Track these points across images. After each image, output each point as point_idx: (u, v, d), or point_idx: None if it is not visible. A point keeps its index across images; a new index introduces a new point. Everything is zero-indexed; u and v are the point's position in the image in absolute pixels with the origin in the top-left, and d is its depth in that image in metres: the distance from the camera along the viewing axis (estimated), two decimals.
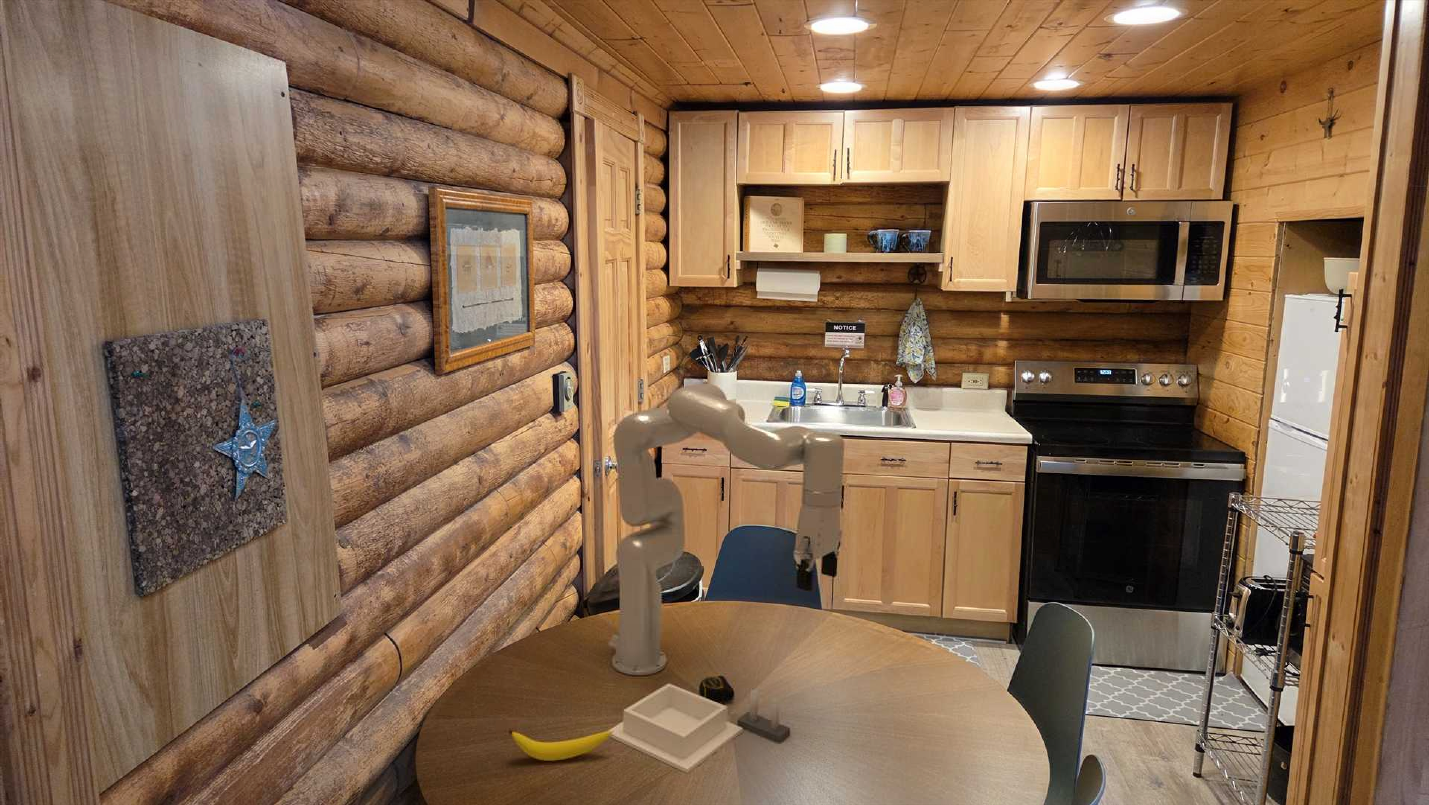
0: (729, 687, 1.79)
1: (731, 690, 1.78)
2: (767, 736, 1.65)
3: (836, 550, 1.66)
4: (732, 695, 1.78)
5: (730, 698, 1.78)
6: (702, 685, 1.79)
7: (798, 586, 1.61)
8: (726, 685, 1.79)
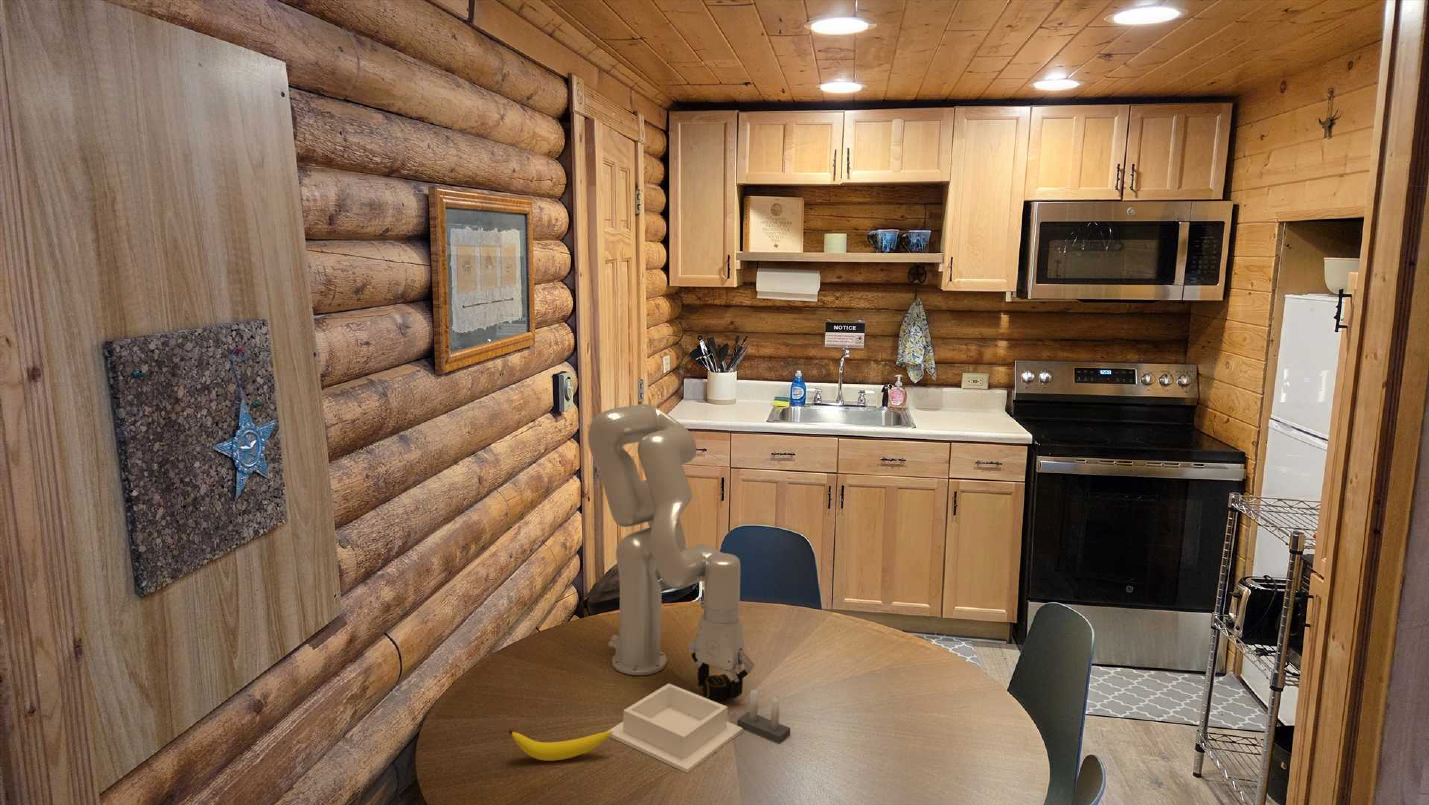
0: None
1: None
2: (767, 736, 1.65)
3: None
4: None
5: None
6: (705, 683, 1.79)
7: (734, 697, 1.77)
8: (729, 683, 1.80)
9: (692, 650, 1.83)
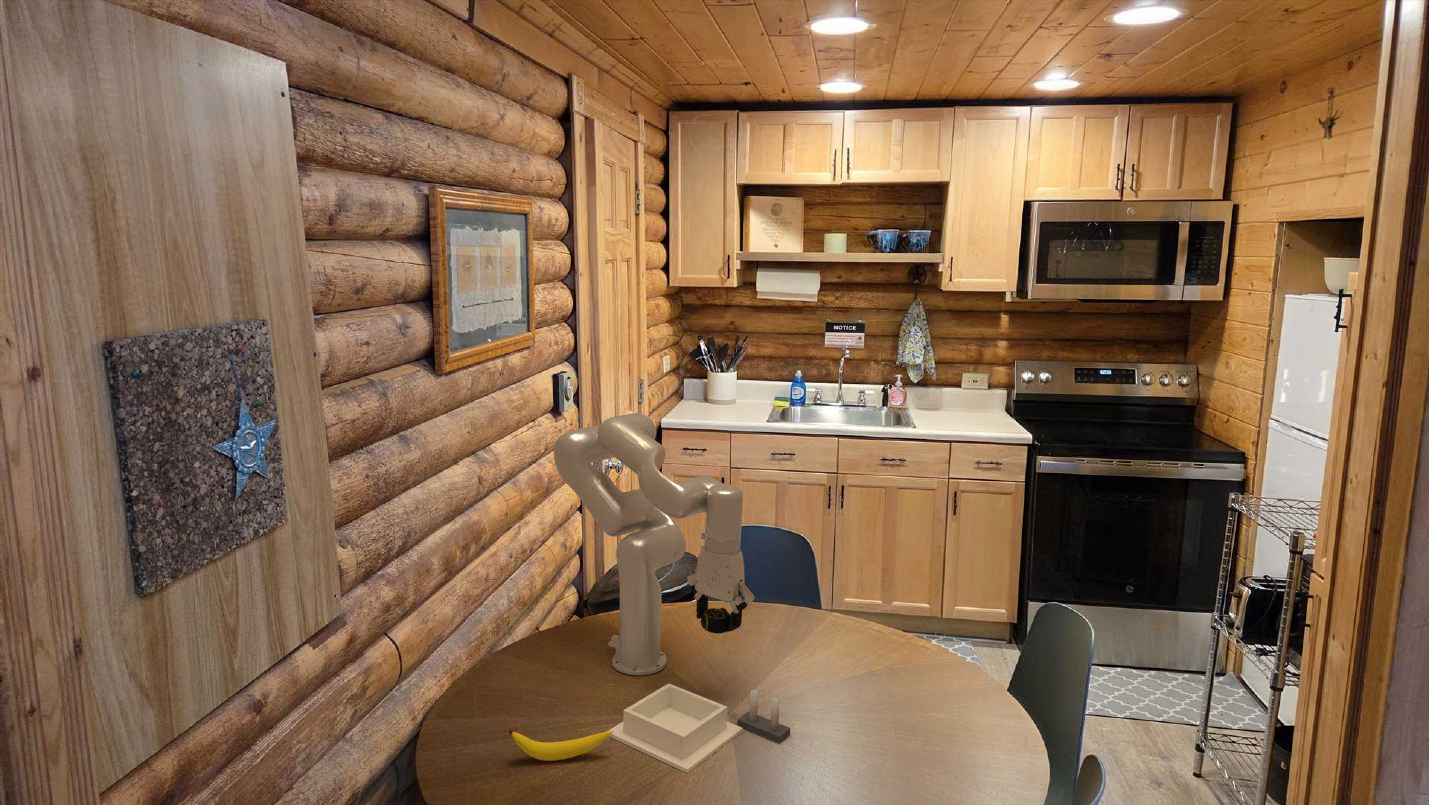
0: None
1: None
2: (767, 736, 1.65)
3: None
4: None
5: None
6: (704, 615, 1.77)
7: (733, 629, 1.75)
8: (728, 616, 1.78)
9: (691, 582, 1.81)
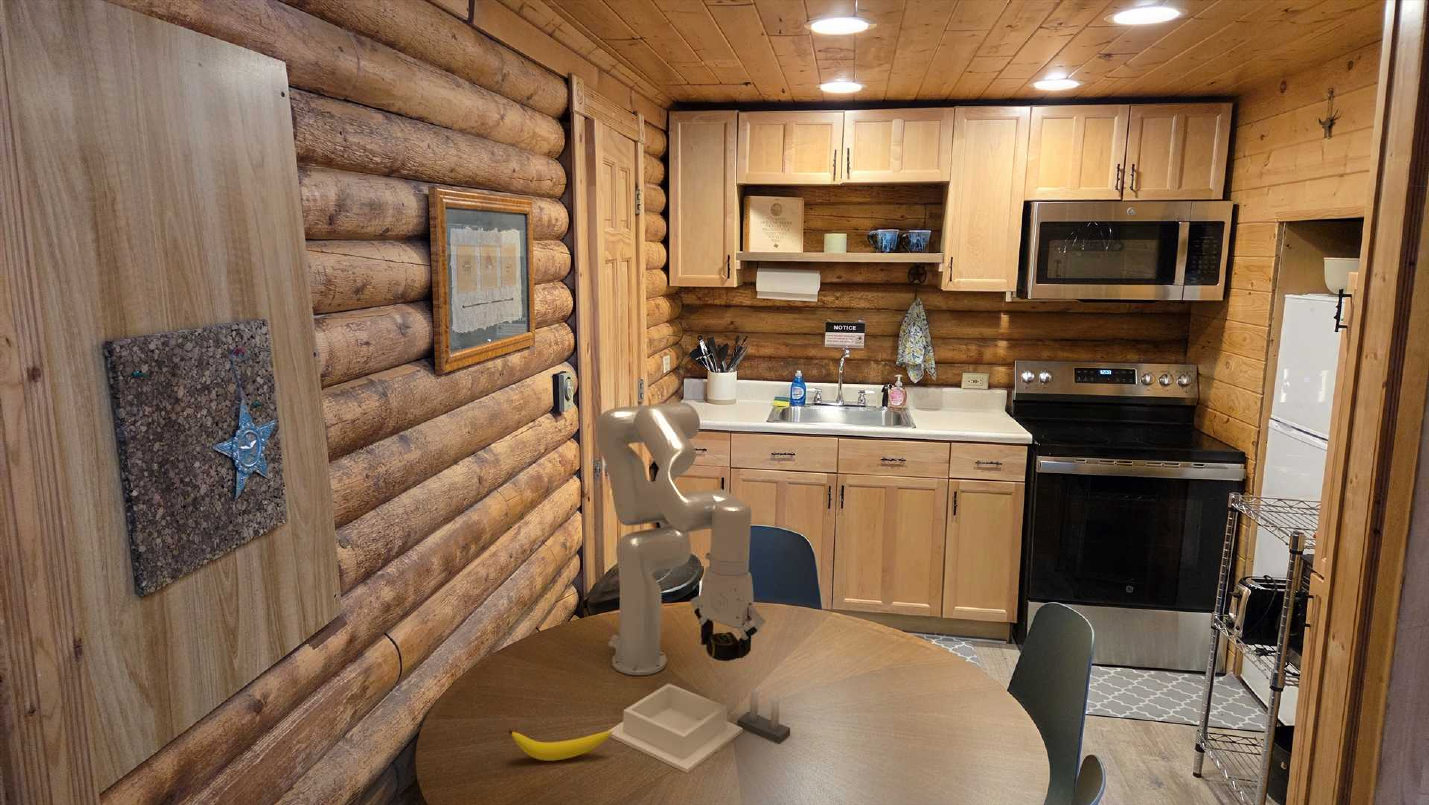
0: None
1: None
2: (767, 736, 1.65)
3: None
4: None
5: None
6: (710, 641, 1.64)
7: (741, 656, 1.61)
8: (736, 642, 1.64)
9: (695, 606, 1.67)
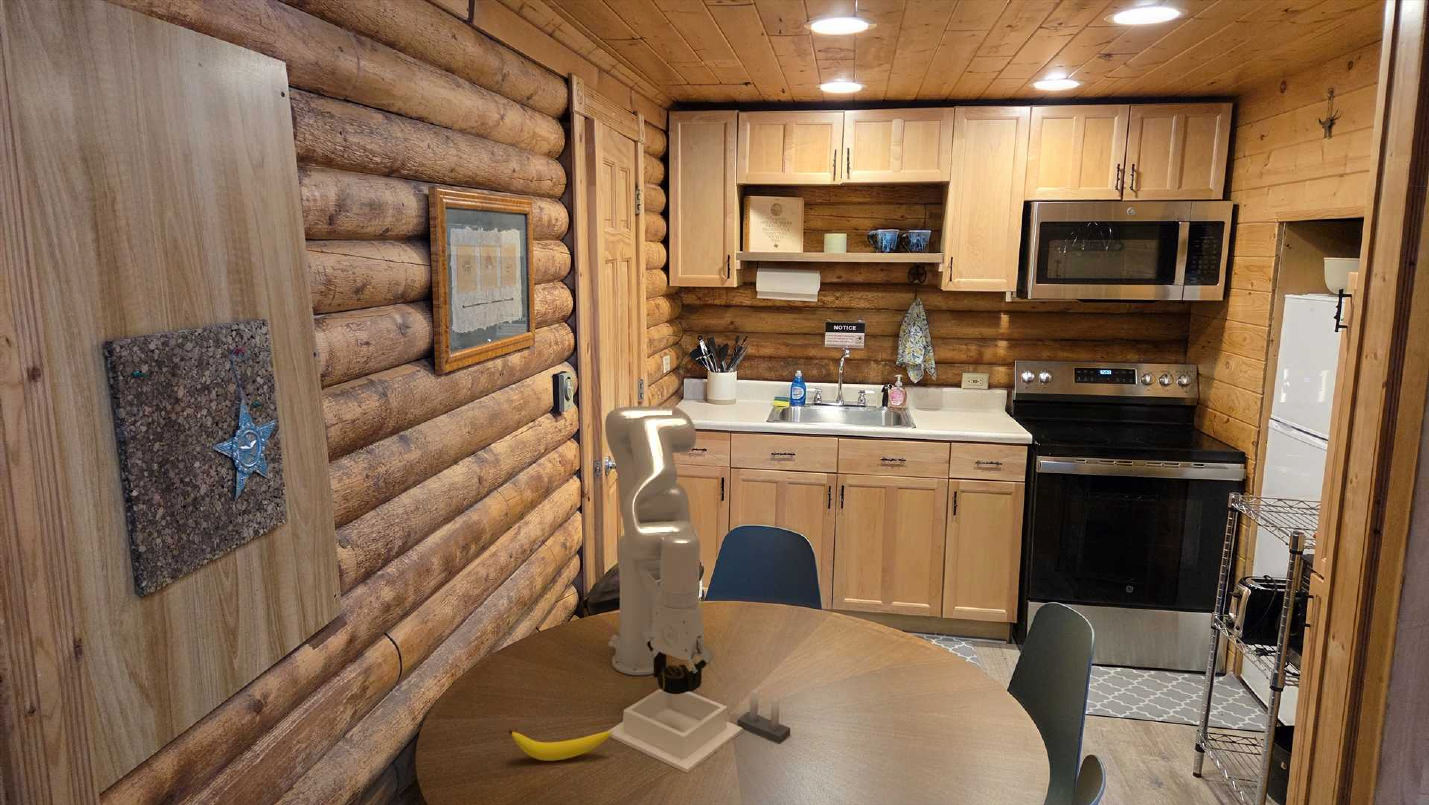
0: None
1: None
2: (767, 736, 1.65)
3: None
4: None
5: None
6: (661, 674, 1.63)
7: (692, 689, 1.61)
8: (687, 674, 1.63)
9: (647, 638, 1.67)
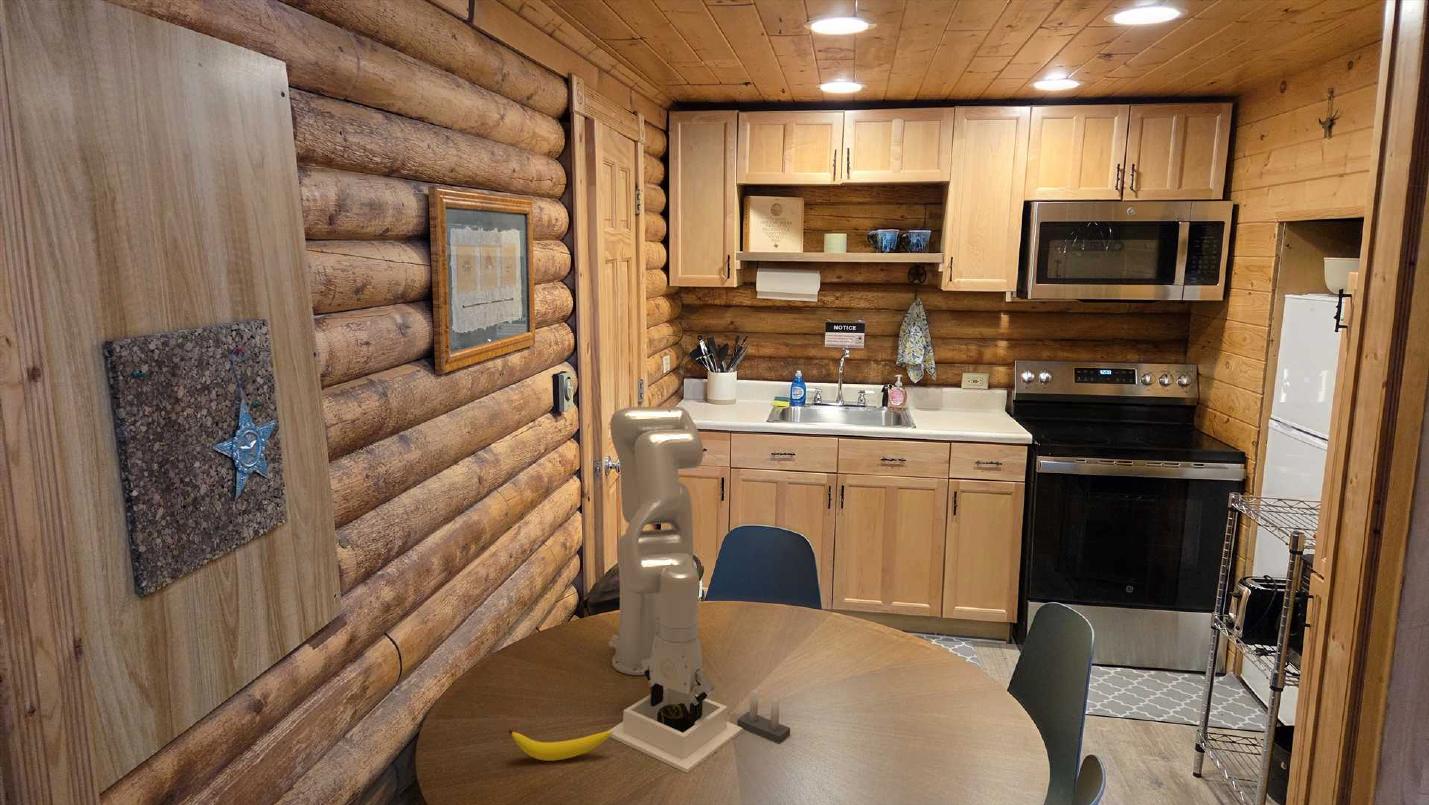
0: None
1: None
2: (767, 736, 1.65)
3: None
4: (693, 725, 1.64)
5: None
6: (660, 714, 1.65)
7: (693, 721, 1.61)
8: (686, 714, 1.65)
9: (645, 667, 1.68)
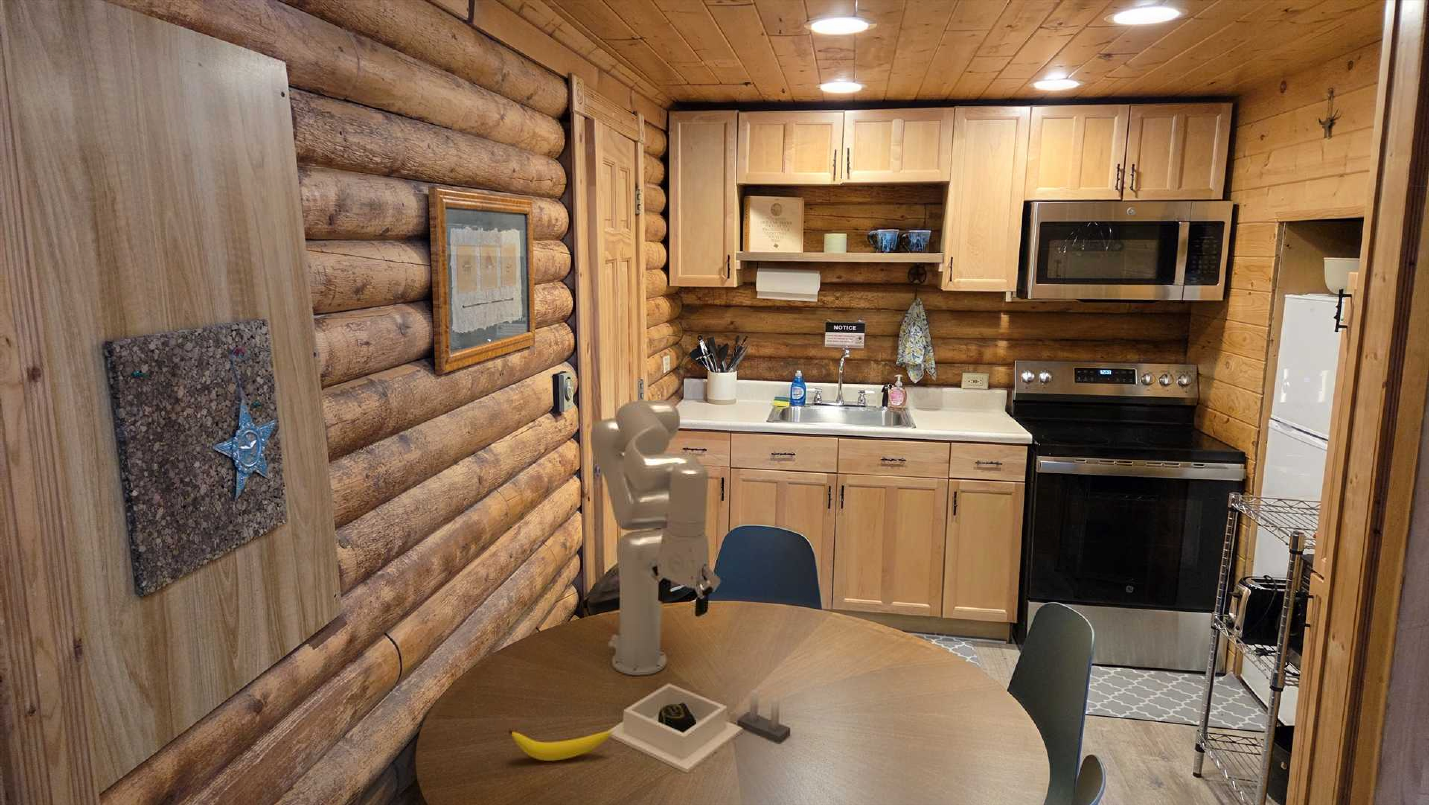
0: (690, 716, 1.65)
1: (692, 719, 1.64)
2: (767, 736, 1.65)
3: None
4: (694, 724, 1.64)
5: None
6: (661, 714, 1.65)
7: (698, 615, 1.65)
8: (687, 714, 1.65)
9: (653, 563, 1.71)
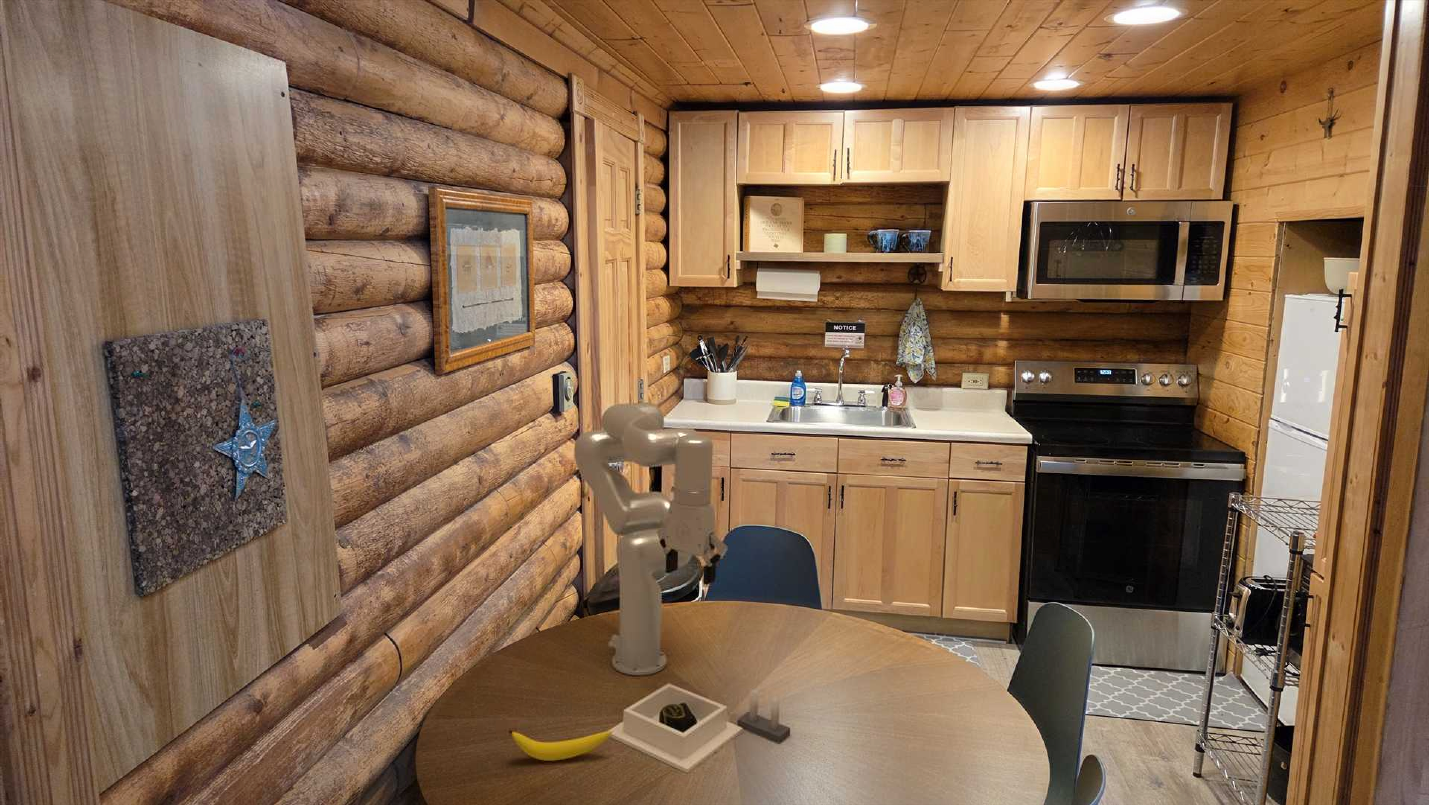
0: (691, 716, 1.65)
1: (693, 719, 1.64)
2: (767, 736, 1.65)
3: None
4: None
5: None
6: (662, 714, 1.65)
7: (706, 583, 1.69)
8: (688, 714, 1.65)
9: (660, 536, 1.75)
